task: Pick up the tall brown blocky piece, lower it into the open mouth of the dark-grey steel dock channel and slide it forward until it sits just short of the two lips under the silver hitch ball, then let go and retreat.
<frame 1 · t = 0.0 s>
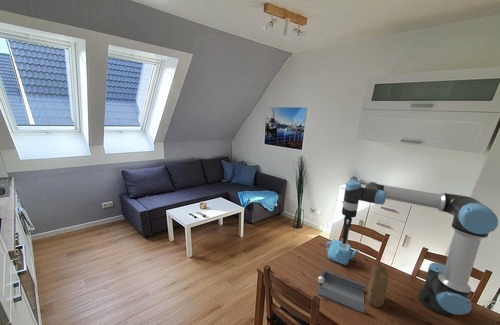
hand: (344, 242, 123), 28 cm above the table, fingers open, 13 cm apart
teapot: (340, 260, 151), on the table
brown blocky piece: (373, 300, 118), on the table
dock: (342, 293, 122), on the table
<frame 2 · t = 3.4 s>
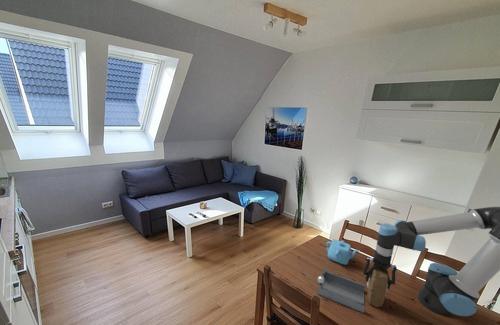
hand: (376, 289, 116), 7 cm above the table, fingers closed on brown blocky piece, 7 cm apart
brown blocky piece: (373, 300, 118), on the table, touching gripper
everything else where it was.
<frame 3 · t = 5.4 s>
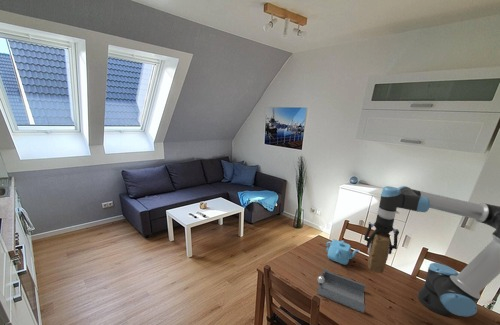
hand: (377, 255, 113), 28 cm above the table, fingers closed on brown blocky piece, 7 cm apart
brown blocky piece: (374, 267, 114), point 20 cm above the table, touching gripper
everything else where it was.
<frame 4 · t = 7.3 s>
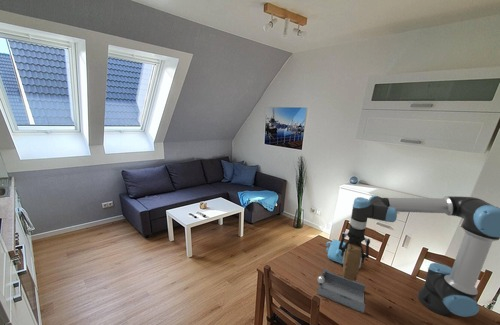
hand: (351, 264, 117), 20 cm above the table, fingers closed on brown blocky piece, 7 cm apart
brown blocky piece: (349, 275, 118), point 13 cm above the table, touching gripper
everything else where it was.
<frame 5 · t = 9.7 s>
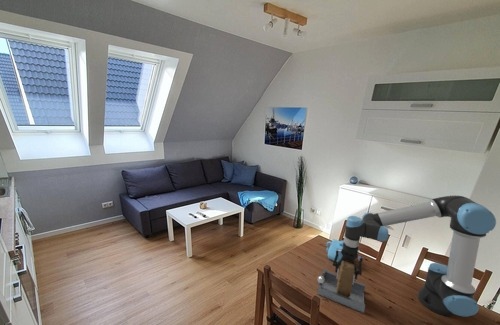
hand: (344, 280, 120), 9 cm above the table, fingers closed on brown blocky piece, 7 cm apart
brown blocky piece: (343, 291, 121), point 1 cm above the table, touching gripper
everything else where it was.
when the fingers open (9 cm above the table, at t = 11.3 s): brown blocky piece stays where it is, resting on dock.
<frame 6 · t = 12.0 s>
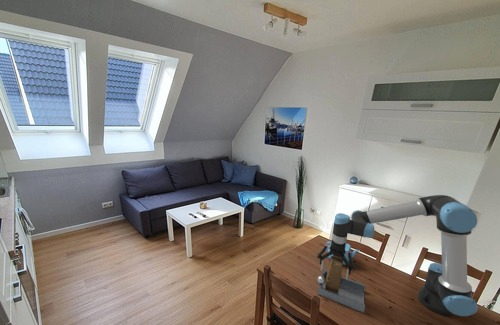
hand: (333, 273, 122), 10 cm above the table, fingers open, 13 cm apart
brown blocky piece: (331, 288, 124), resting on dock
everything else where it was.
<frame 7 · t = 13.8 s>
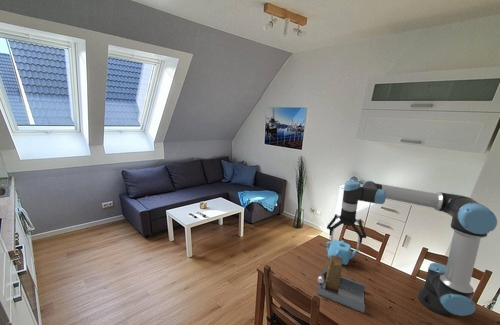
hand: (344, 244, 120), 29 cm above the table, fingers open, 13 cm apart
nothing on the table moved.
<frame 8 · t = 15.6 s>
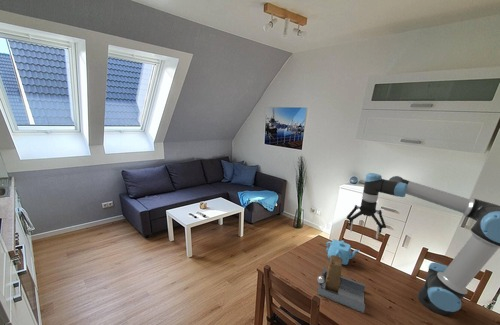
hand: (363, 234, 124), 33 cm above the table, fingers open, 13 cm apart
nothing on the table moved.
at the end: brown blocky piece inside the target area (0.1 cm from its centre), resting on dock; brown blocky piece tilted 0°; the gripper is holding nothing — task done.
